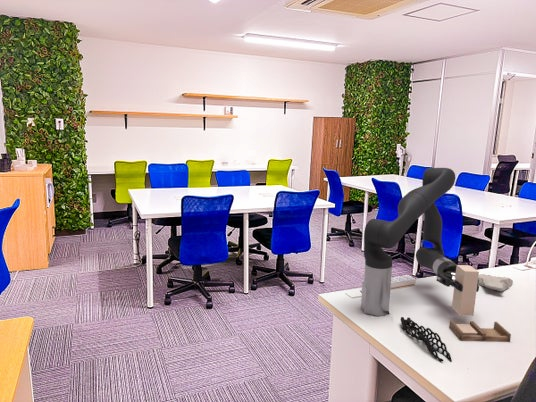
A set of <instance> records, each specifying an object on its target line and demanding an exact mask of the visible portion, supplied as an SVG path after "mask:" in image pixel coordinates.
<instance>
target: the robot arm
mask: <svg viewBox="0 0 536 402" xmlns="http://www.w3.org/2000/svg"><path fill="white" fill-rule="evenodd" d="M455 182H456V173H455V171H454V170H453V169H452V168H448V167H428V168H426V169H425V170H424V171H423V174H422V182H421V183H422V185H421V186H419V187H416V188H414V189H412V190H410V191H409V192H407V193H406V194H405V195H404V196H403V197H402V198H401V199H400V200H399V202H398V205H397V214H398V216H397V218H395V219H394V220H392V221H388V220H383V219H378V218H371V219H369V220H368V221H367V223H366V225H365V227H364V231H363V233H364V234H363V256H364V276H363V277H364V279H363V281H362V282H361V283H362V284H361V285H362V286H361V300H360V301H361V305H360V307H361V309H362V310H363V313H364V314H365V315H367V314H368V315H370V316H377V317H378V316H379V317H382V316H386V315H388V314H389V312H390V311H389V310H390V301H391V289H392V288H391V286H392V285H391V284H392V276H393V275H392V273H393V272H392V271H393V258H392V257H391V256H390V255H389V254H388V253H386V251H385V250H384V249H392V248H394V247H396V245H397V244H398V243H399V242H400V241H401V239H402V238H403V236H404V235H405V234H406V233H407V231H408V230H409V229H410V228H411V226H412V225H413V224H415V222H416V221H417V220H418V219H419V218H420V217H421V216H423V227H422V240H423V241H425V242H428V243H431V244H432V247H424V246H423V247H419V248H418V249H417V250H416V252H415V259H416V261H417V263H418V264H419V265H420V266H422V267H424V268H426V269H428V270H432V271H433V273H435V275H436V279H435V280H436V282H437V283H440V284H442V285H444V286H445V287H452V288H453V289H454V288H456V289H457V290H459V291H462V290H463V285H462V284H461V283H459V282H458V281H457V280H456V279H455V275H456V267H457V265H458V264H456V263H455V262H454V261H452V260H451V259H449V258H447V257H446V256H445V253H444V249H443V242H442V234H443V233H442V232H443V218H442V215H441V214H440V211H439V210H438V207H437V205H436V203H435V202H436V201H437V200H438V199H439V198H441V197H442V196H443V195H445V194H447V192H449V191H450V190H451V189H452V187H453V186H454V184H455ZM383 248H384V249H383ZM479 291H480V285H479V279H478V283H477V291H476V293H478V292H479Z"/></svg>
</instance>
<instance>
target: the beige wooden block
mask: <svg viewBox="0 0 536 402" xmlns="http://www.w3.org/2000/svg"><path fill="white" fill-rule="evenodd" d="M456 265H457V267H456V275H455V279H456V280H457V281H458V282H459V283H461V284H462V285H463V290H462V291H459V290H457V289H456V288H454V287H453V293H452V294H453V295H452V303H451V308H452V309H453V310H454V311H455V312H456V313H457V314H458V315H459V316H469V317H470V316H474V315H475V308H476V307H475V306H476V298H477V292H476V291H477V283H478V276H479V275H480V274H479V273H480V271H479V270H477V269H475V268H474V267H473V266H471V265H466V264H456Z"/></svg>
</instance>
